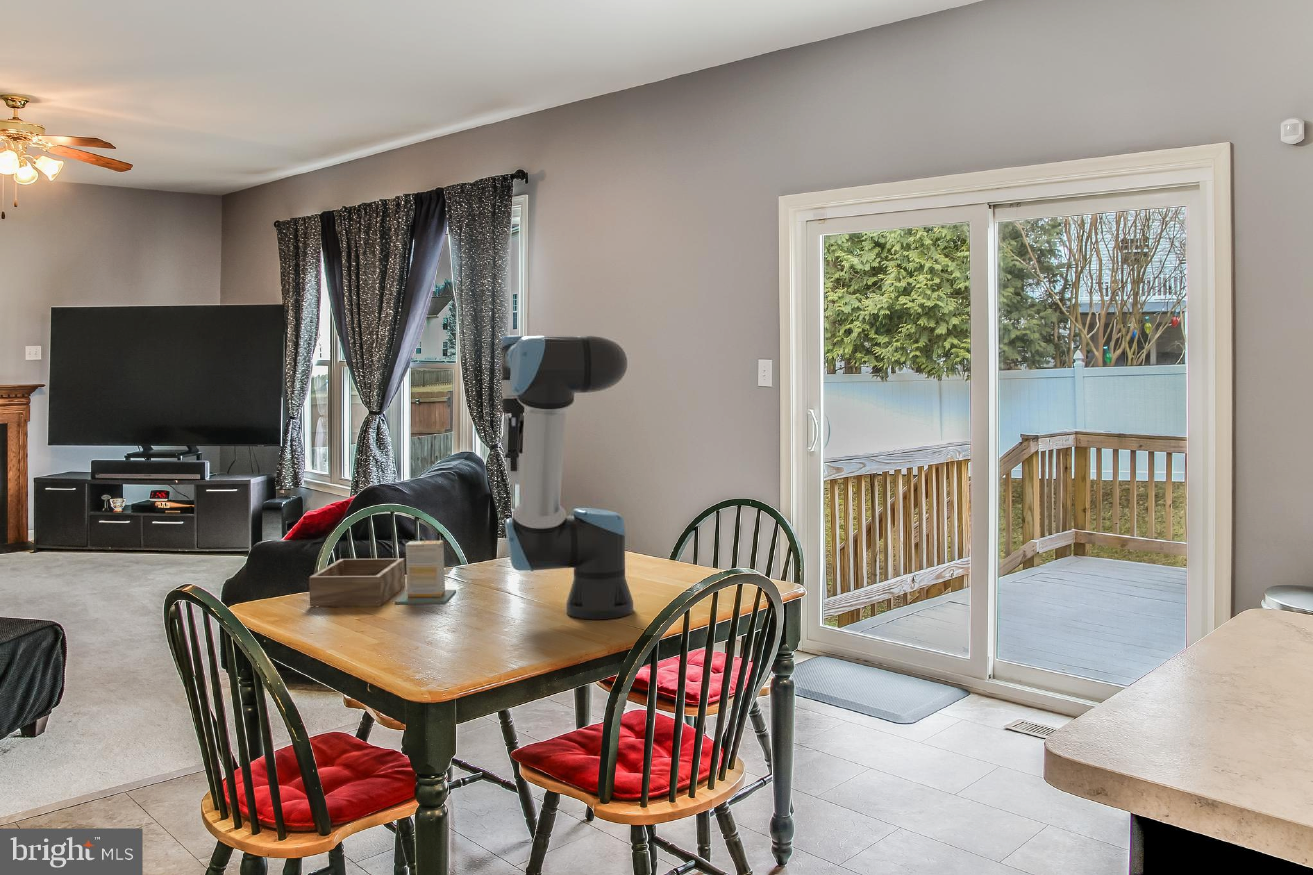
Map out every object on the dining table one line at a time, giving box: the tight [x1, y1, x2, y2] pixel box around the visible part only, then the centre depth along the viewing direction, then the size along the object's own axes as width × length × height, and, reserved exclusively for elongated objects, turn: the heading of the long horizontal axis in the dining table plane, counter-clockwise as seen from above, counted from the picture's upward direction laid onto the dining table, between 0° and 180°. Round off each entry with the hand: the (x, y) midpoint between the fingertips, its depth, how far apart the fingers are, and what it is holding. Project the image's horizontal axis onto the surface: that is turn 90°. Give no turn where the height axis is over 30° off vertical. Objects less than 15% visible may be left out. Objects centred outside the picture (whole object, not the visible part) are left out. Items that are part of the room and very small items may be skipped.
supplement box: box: [405, 540, 446, 597], centre depth 234 cm, size 8×5×13 cm, turn 87°
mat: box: [394, 589, 457, 605], centre depth 234 cm, size 12×12×1 cm
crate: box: [308, 557, 406, 608], centre depth 237 cm, size 22×16×7 cm
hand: (518, 481), depth 245 cm, fingers open, 13 cm apart
